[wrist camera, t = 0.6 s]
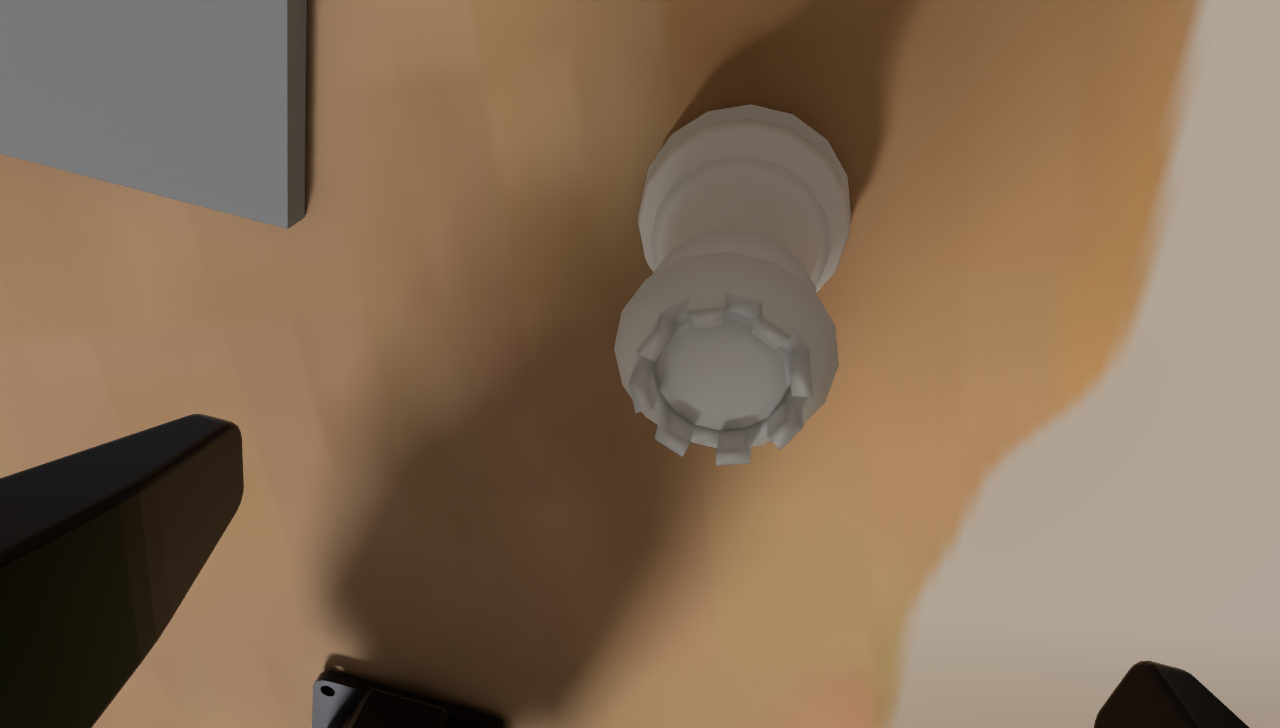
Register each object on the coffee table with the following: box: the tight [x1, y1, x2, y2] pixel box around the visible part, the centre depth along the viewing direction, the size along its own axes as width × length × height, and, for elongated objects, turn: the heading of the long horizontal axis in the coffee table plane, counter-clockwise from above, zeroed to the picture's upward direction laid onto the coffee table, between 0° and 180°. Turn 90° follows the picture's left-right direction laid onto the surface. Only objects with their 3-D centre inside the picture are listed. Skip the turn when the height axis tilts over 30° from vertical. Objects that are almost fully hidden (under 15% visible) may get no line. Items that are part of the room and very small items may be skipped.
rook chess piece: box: [614, 104, 851, 466], centre depth 15 cm, size 4×4×8 cm
